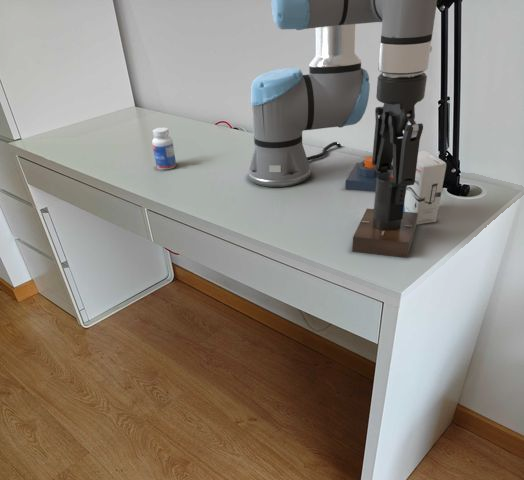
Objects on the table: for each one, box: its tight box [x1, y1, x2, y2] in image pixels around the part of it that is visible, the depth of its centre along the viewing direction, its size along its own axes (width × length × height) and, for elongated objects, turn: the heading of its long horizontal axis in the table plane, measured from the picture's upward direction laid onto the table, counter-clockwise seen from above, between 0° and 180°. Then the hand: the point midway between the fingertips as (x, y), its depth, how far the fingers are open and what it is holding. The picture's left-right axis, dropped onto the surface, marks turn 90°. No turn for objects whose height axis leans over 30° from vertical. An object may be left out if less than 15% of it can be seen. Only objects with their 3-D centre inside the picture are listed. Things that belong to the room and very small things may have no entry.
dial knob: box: [373, 172, 401, 230], centre depth 91 cm, size 5×5×9 cm
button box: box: [345, 160, 393, 193], centre depth 118 cm, size 12×10×4 cm
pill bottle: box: [151, 127, 177, 171], centre depth 133 cm, size 6×5×10 cm
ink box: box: [403, 150, 447, 226], centre depth 99 cm, size 9×5×12 cm, turn 13°
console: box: [351, 208, 418, 259], centre depth 95 cm, size 13×10×3 cm
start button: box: [364, 155, 378, 168], centre depth 116 cm, size 4×4×2 cm
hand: (387, 212), depth 92 cm, fingers closed on dial knob, 5 cm apart
